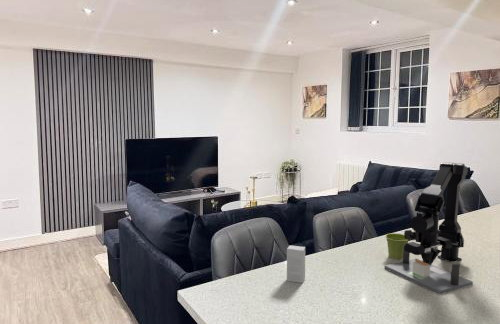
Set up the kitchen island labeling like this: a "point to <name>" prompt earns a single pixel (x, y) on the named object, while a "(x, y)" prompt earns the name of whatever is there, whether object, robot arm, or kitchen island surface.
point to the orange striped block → (421, 268)
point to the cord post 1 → (405, 256)
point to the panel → (429, 277)
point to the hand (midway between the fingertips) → (427, 268)
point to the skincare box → (296, 264)
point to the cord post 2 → (455, 273)
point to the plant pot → (396, 245)
